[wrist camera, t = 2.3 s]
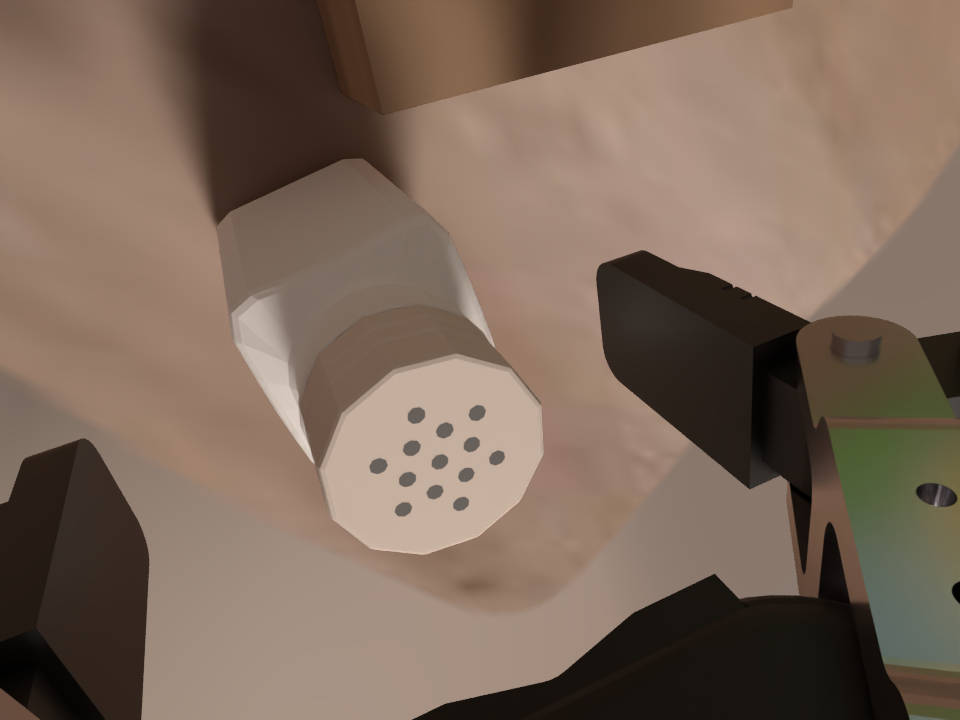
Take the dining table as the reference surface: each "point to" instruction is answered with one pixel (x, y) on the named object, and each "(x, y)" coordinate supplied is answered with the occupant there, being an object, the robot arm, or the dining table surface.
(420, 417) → the salt shaker
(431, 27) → the base
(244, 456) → the dining table surface
